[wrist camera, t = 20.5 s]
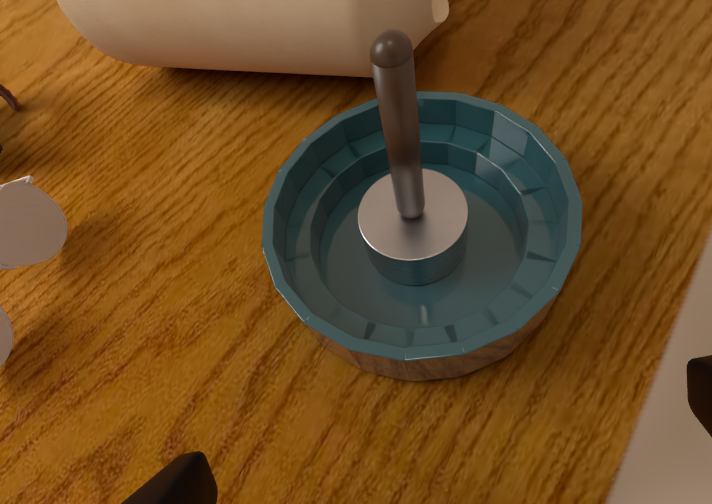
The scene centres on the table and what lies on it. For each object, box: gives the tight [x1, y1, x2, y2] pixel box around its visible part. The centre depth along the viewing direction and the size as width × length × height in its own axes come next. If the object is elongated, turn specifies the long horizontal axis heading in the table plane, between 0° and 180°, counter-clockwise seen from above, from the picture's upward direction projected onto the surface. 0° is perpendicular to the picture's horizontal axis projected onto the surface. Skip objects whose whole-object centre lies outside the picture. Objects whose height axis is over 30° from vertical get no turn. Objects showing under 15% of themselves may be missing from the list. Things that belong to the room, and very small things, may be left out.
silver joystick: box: [357, 29, 469, 285], centre depth 19 cm, size 6×6×13 cm
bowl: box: [262, 91, 583, 381], centre depth 23 cm, size 15×15×4 cm
